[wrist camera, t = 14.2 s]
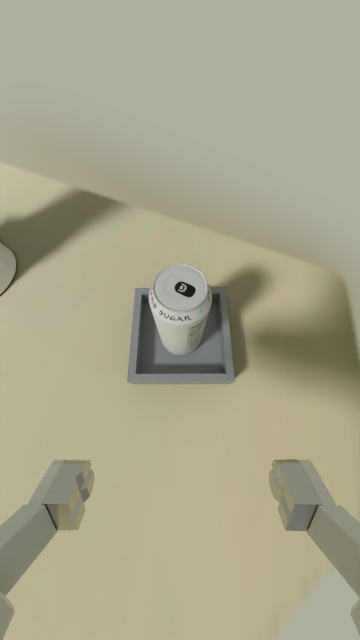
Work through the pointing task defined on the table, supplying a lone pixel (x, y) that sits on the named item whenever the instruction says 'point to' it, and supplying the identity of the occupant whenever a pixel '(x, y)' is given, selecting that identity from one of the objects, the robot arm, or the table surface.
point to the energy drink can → (180, 307)
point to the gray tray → (194, 368)
